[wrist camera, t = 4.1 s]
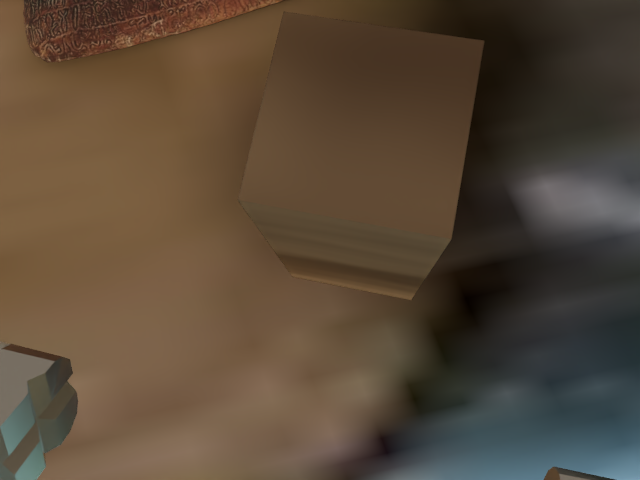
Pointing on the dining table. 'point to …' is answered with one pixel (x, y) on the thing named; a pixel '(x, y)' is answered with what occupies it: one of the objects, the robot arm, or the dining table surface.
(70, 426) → the robot arm
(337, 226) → the walnut pillar
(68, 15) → the wooden tablet
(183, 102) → the dining table surface
